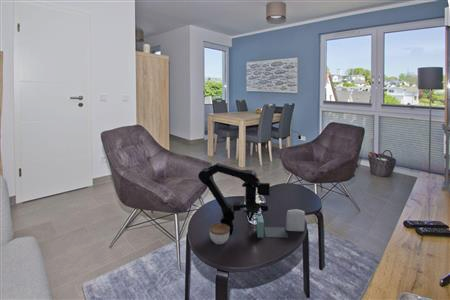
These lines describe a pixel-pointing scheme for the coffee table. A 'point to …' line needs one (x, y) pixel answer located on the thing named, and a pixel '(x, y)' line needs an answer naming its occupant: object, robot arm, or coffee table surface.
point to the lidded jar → (219, 233)
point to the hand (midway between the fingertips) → (249, 221)
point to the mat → (275, 232)
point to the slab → (260, 226)
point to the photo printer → (295, 220)
